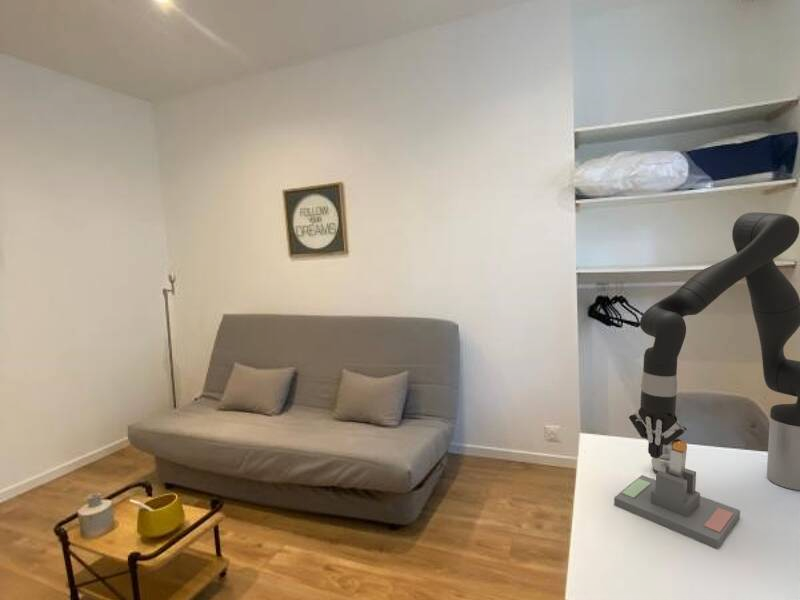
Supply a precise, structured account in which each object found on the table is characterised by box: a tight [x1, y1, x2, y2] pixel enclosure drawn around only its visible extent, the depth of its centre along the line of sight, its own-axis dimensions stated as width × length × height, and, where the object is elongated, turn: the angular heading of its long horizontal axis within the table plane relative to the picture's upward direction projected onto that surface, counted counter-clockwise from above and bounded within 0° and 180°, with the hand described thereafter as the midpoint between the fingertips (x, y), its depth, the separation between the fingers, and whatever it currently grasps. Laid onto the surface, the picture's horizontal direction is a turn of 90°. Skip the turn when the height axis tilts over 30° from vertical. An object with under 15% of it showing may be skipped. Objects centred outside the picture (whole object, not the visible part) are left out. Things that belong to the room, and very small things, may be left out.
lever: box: [669, 438, 688, 479], centre depth 105 cm, size 3×3×13 cm
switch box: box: [613, 463, 741, 550], centre depth 106 cm, size 16×22×10 cm
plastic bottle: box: [651, 419, 680, 473], centre depth 124 cm, size 6×7×20 cm
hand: (654, 456), depth 109 cm, fingers closed
